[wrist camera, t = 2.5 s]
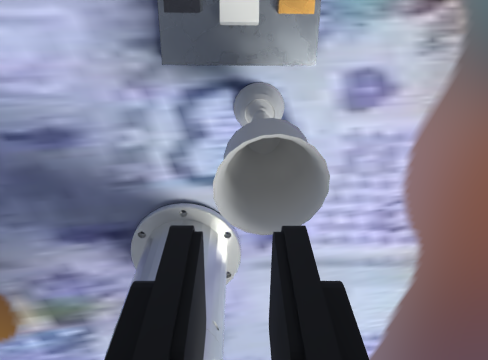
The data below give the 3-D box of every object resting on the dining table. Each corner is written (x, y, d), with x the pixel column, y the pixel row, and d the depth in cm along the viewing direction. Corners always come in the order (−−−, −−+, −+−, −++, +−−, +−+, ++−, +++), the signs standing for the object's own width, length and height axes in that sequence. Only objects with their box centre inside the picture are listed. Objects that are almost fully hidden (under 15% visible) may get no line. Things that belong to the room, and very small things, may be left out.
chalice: (275, 58, 40) (300, 112, 24) (306, 118, 43) (347, 203, 27) (209, 96, 42) (191, 170, 25) (243, 152, 44) (246, 251, 28)
